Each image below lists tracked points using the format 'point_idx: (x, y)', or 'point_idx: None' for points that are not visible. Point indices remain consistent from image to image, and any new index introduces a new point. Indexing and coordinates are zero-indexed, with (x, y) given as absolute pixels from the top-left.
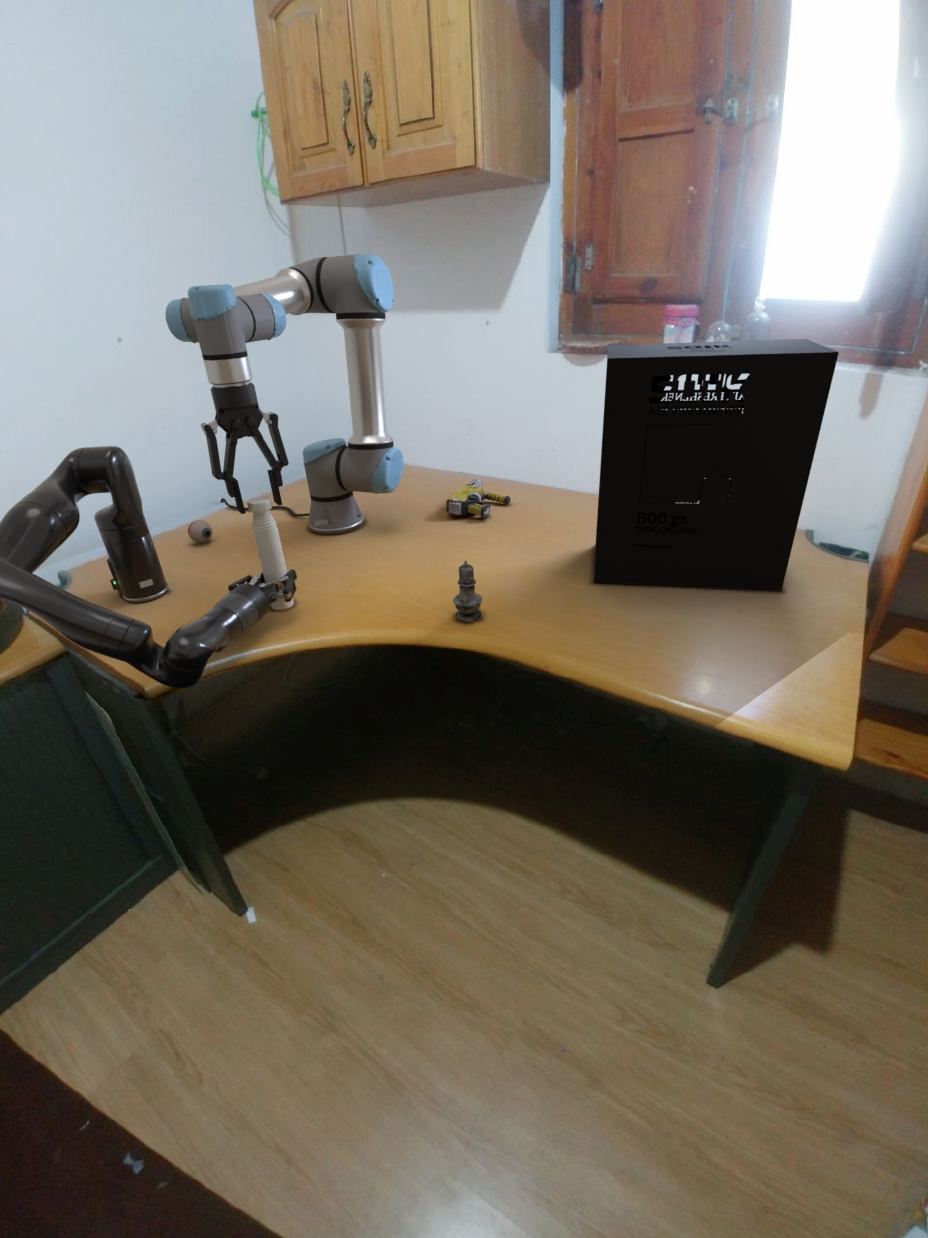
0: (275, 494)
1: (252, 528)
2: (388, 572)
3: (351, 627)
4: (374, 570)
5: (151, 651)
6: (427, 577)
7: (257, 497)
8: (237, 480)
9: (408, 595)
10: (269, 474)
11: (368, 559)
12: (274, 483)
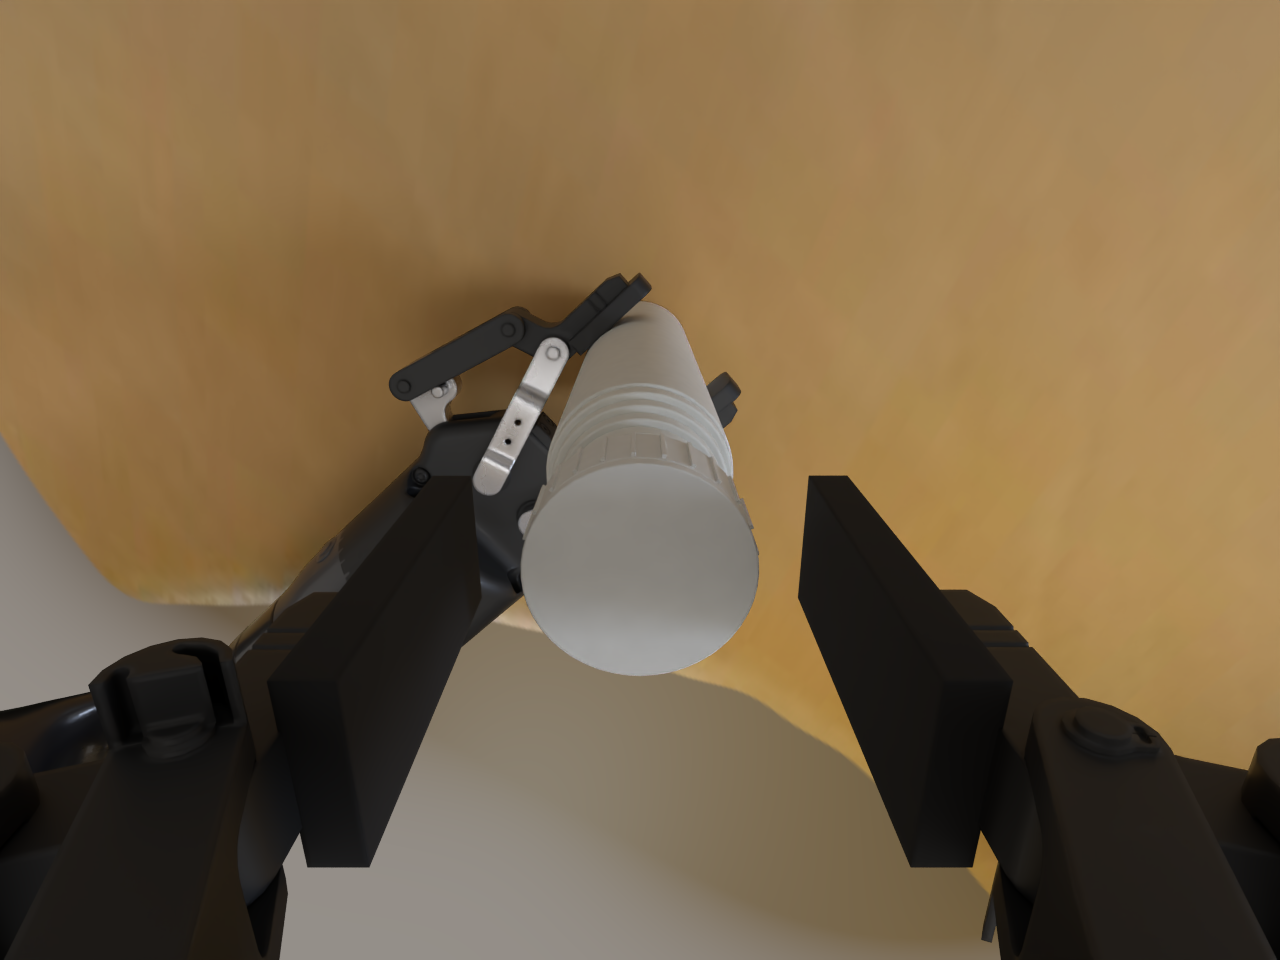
0: (824, 627)
1: (547, 460)
2: (1152, 359)
3: (772, 663)
4: (1126, 293)
5: (65, 765)
6: (1220, 512)
7: (657, 493)
8: (367, 866)
9: (1056, 593)
10: (908, 710)
11: (1201, 139)
12: (864, 750)
